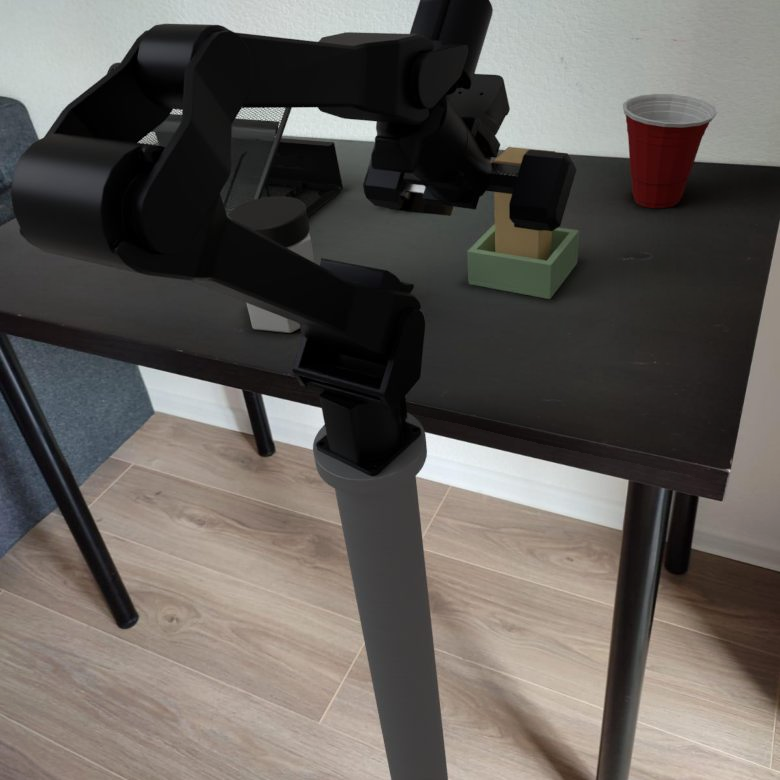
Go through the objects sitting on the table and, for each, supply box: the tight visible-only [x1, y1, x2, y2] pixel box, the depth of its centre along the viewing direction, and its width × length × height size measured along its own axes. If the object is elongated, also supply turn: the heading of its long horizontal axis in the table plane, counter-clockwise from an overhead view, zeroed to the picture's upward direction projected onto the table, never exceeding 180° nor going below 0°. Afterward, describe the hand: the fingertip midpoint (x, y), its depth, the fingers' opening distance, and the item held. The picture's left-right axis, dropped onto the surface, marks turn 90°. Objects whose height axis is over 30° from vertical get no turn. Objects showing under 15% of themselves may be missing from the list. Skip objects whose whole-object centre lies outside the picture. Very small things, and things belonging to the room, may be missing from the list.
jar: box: [228, 195, 316, 334], centre depth 82 cm, size 9×8×12 cm
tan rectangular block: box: [492, 146, 556, 261], centre depth 83 cm, size 4×5×13 cm
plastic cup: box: [622, 93, 718, 209], centre depth 96 cm, size 11×11×12 cm
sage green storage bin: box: [466, 223, 580, 300], centre depth 86 cm, size 9×10×4 cm
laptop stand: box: [106, 62, 344, 218], centre depth 105 cm, size 33×28×18 cm
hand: (492, 216), depth 76 cm, fingers open, 9 cm apart
